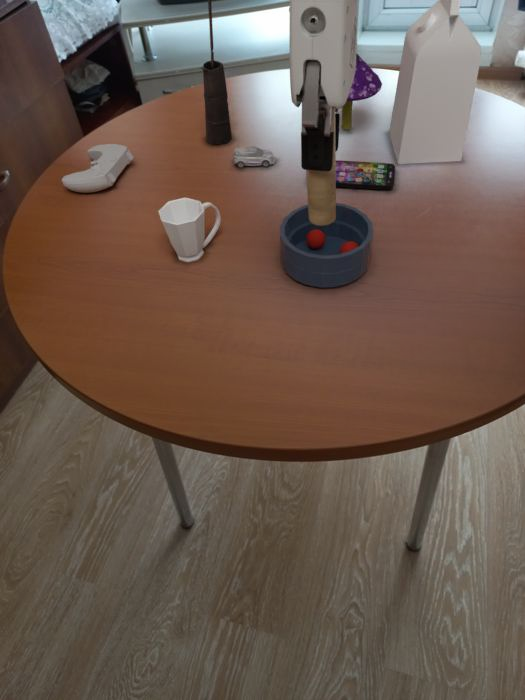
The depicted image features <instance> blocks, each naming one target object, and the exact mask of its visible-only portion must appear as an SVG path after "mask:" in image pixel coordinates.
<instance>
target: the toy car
mask: <svg viewBox="0 0 525 700" xmlns="http://www.w3.org/2000/svg"><path fill="white" fill-rule="evenodd" d="M233 163H234V166H235V164H236V166H237V168H239V169H243V168H245V166H246V167H247V166H248V167H249V166H250V167H251V166H252V167H259V166H262V167H264V168H268V167H269V166H270V165H274V164H275V163H276V157H275V154H274V153H273V151H271V150H269V149H262V148H259V147H257V146H254V145H253V146H246V147H245V146H243V147H240V146H236V147H235V148H234V152H233Z"/></svg>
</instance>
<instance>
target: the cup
mask: <svg viewBox="0 0 525 700" xmlns="http://www.w3.org/2000/svg"><path fill="white" fill-rule="evenodd" d="M209 207H212V208H213V210H214V213H215V216H216V217H215V223H214V225H213V228H212V229H211V231H210V232H209V234H208V236H207V237H206V238H205V231H206V230H205V219H206V217H205V210H206V209H208V208H209ZM157 213H158V214H159V217H160V218H159V219H160V220H161V223H162V226H163V228H164V230H165V232H166V235H167V237H168V239H169V242H170V244H171V246H172V248H173V249H174V252H175V253H176V255H177V258H178V260H179V261H182V262H184V263H191V262H195V261H199V260H200V258H202V256H203V255H204V254H205V252H204V250H203V249H204V248H205V247H206V246H208V244H209V243H210V242H211V241H212V239H213V238H214V237H215V235H216V233H217V231H219V227H220V226H221V219H222V217H221V213H220V211H219V209H218V206H216V205H215V204H213V203H212V202H210V201H209V202H208V201H206V202H204V203H202V202H201V200H197V199H195V198H194V199H193V198H189V197H181V198H177V199H172V200H168V201H167V202H165V204H164V205H163V206H162V207H160V208H159V210H158V211H157Z"/></svg>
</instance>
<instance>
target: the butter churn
mask: <svg viewBox="0 0 525 700" xmlns="http://www.w3.org/2000/svg"><path fill="white" fill-rule="evenodd" d="M207 5H208V7H207V8H208V9H207V10H208V23H209V44H210V46H209V48H210V60H208V61H206V62H204V63H203V65H202V67H200V69H201V70H202V76H203V78H202V79H203V98H204V115H205V116H204V120H205V141H206V142H207V144H209V145H212V146H214V145H225V144H228V143H230V142H231V141H232V139H233V136H232V126H231V119H230V110H229V102H228V88H227V81H226V75H225V68H224V64H223V62H220V61H218V60H215V55H214V54H215V51H214V33H213V31H214V29H213V10H212V9H213V6H212V0H207Z"/></svg>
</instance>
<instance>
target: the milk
mask: <svg viewBox="0 0 525 700" xmlns="http://www.w3.org/2000/svg"><path fill="white" fill-rule="evenodd" d="M460 8H461V0H436V2H435V3H434V4H433V5H431V6H430V7H429V8H428V9H427V10H425V12H423V13H422V15H421V16H420V17H418V18H417V19H416V20H415V21H414V22H413V23H412V24H411V26H410V27H409V28H408V29H407V31H406V32H405V36H404V40H403V45H402V53H401V59H400V65H399V70H398V75H397V82H396V88H395V95H394V101H393V106H392V113H391V119H390V125H389V131H388V134H389V137H390V142H391V144H392V148H393V151H394V156H395V159H396V162H397V165H408V164H409V165H410V164H429V163H431V164H432V163H451V162H453V163H454V162H462V160H463V153H464V148H465V144H466V138H467V133H468V127H469V122H470V118H471V111H472V106H473V101H474V96H475V91H476V86H477V80H478V76H479V72H480V71H479V70H480V66H481V59H482V48H481V44H480V43H479V41H478V40H477V38H476V37H475V35H474V34H473V33H472V31H471V30H470V28H469V27H468V25H467V24H466V22H465V21H464V20H463V18H462V17H461V16H460Z"/></svg>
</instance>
